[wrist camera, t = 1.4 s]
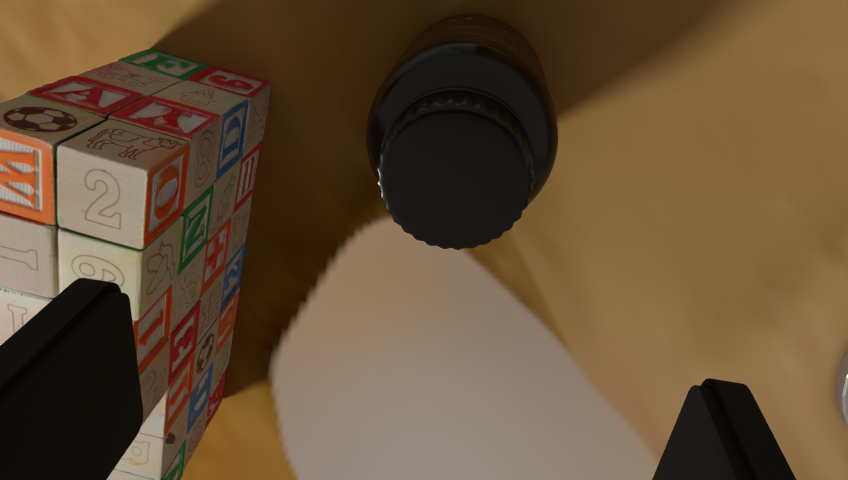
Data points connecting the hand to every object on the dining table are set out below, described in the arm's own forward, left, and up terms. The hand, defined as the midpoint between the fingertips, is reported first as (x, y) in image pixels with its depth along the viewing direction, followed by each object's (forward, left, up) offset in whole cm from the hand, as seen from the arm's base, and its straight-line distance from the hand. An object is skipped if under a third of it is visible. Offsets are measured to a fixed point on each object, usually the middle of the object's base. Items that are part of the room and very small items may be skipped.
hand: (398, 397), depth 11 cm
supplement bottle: (0, 0, -22) cm, 22 cm away
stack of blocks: (+14, +11, -22) cm, 28 cm away
